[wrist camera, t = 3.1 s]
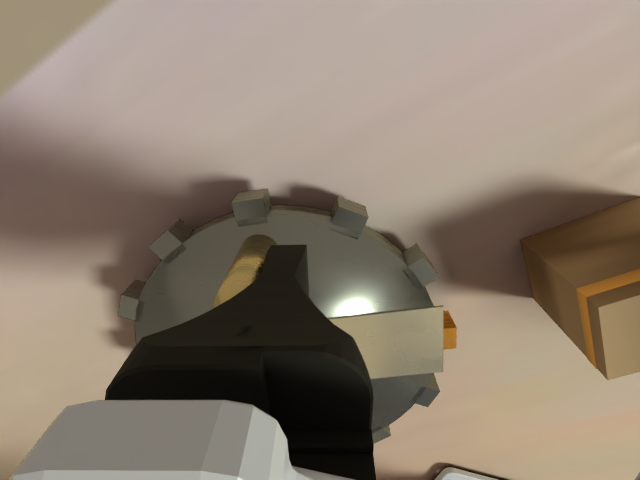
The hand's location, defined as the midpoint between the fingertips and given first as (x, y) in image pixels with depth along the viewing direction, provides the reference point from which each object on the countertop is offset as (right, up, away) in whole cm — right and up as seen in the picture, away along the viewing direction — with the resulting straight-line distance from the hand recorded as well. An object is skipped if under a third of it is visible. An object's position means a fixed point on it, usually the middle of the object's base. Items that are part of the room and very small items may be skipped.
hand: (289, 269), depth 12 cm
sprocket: (0, -3, +5) cm, 6 cm away
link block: (+13, +1, +3) cm, 14 cm away
